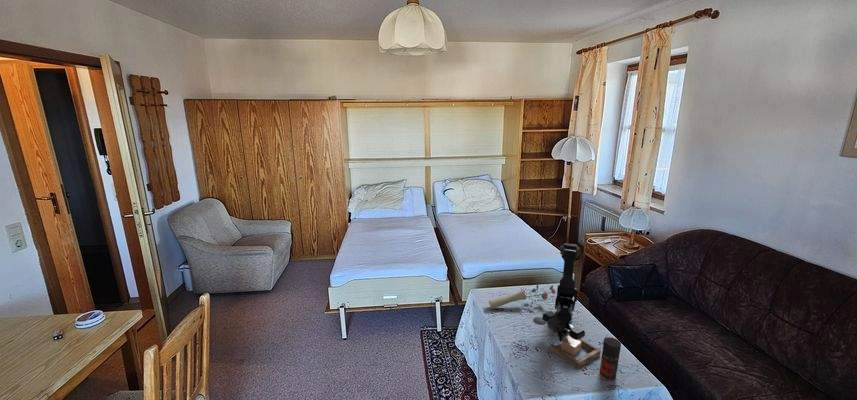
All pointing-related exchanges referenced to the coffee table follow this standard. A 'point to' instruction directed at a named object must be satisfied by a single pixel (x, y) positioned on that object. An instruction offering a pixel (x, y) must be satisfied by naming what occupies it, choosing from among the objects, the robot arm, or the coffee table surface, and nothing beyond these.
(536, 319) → the pad
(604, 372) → the deodorant
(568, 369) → the coffee table surface
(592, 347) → the bay
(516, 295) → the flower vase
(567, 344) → the terracotta block
